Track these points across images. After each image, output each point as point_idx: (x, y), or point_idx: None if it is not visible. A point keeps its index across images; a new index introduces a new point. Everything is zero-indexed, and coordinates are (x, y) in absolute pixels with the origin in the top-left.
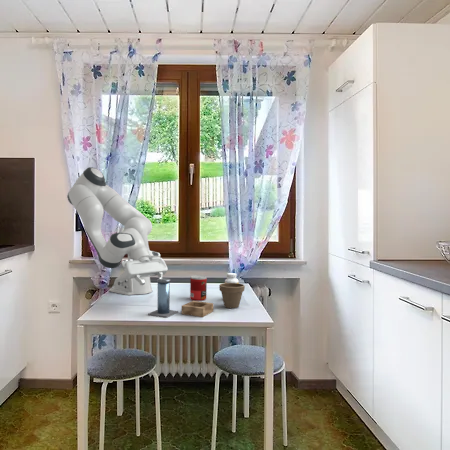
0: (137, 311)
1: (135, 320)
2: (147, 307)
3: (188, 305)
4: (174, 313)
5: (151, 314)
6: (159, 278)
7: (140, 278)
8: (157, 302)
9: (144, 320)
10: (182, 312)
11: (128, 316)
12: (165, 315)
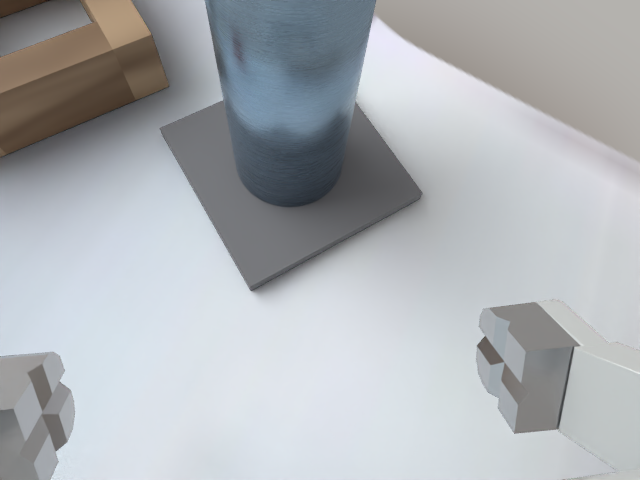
0: (466, 360)
1: (555, 125)
2: (314, 461)
3: (93, 13)
4: (218, 106)
5: (401, 168)
6: (23, 406)
7: (633, 368)
8: (347, 129)
9: (494, 94)
10: (161, 71)
11: (583, 248)
12: None
